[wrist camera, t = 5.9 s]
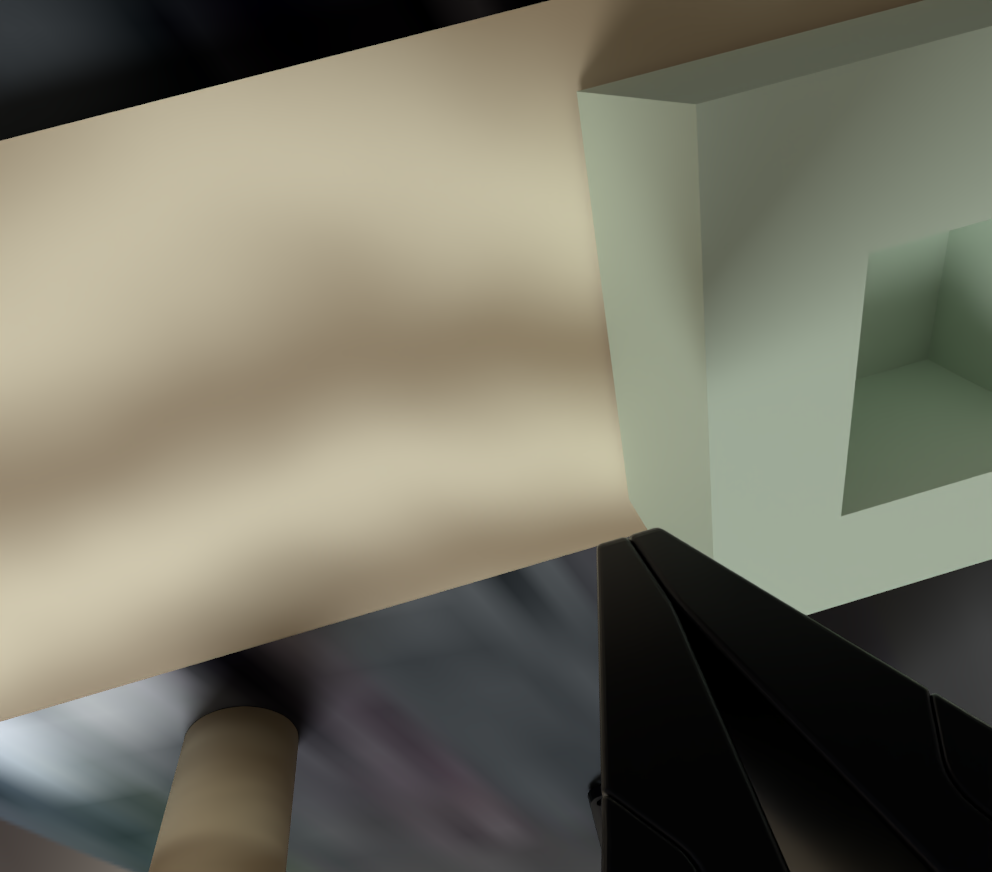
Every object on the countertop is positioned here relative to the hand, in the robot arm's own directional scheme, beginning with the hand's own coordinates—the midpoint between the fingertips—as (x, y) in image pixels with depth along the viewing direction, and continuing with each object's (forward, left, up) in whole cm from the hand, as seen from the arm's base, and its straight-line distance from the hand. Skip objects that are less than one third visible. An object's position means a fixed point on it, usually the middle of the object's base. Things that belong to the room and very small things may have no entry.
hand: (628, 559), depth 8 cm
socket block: (0, -7, -7) cm, 10 cm away
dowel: (-12, +12, -8) cm, 19 cm away
